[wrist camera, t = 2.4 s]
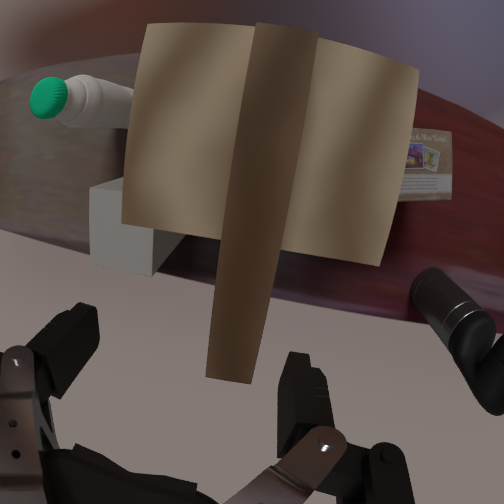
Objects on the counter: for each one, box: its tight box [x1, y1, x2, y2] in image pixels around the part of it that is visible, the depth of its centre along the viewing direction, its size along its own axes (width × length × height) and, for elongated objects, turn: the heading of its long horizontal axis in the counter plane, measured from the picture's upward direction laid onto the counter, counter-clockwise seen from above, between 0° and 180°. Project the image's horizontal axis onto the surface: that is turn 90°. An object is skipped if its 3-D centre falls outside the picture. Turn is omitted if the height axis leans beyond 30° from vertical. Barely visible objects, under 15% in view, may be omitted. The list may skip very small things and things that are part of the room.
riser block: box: [89, 177, 186, 277], centre depth 41 cm, size 8×9×22 cm
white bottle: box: [30, 75, 134, 129], centre depth 34 cm, size 7×7×25 cm
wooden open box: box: [121, 23, 419, 266], centre depth 32 cm, size 18×14×32 cm
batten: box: [206, 22, 319, 384], centre depth 17 cm, size 3×22×3 cm, turn 171°
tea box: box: [397, 128, 452, 202], centre depth 40 cm, size 15×10×15 cm
